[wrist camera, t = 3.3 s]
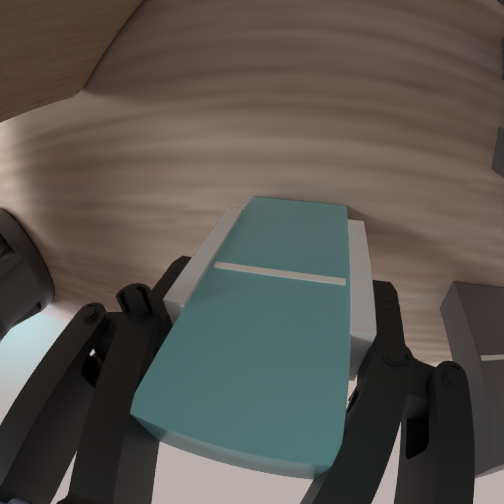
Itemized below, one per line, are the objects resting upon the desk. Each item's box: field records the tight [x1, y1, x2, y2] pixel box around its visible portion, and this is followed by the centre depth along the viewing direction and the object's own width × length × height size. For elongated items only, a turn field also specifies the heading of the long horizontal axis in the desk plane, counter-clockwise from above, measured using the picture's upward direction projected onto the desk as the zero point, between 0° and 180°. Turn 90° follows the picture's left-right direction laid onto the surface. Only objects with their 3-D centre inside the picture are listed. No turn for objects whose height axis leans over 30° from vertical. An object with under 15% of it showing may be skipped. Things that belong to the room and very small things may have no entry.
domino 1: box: [130, 197, 351, 480], centre depth 10 cm, size 5×2×12 cm, turn 92°
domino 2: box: [440, 282, 504, 478], centre depth 10 cm, size 5×2×12 cm, turn 92°
